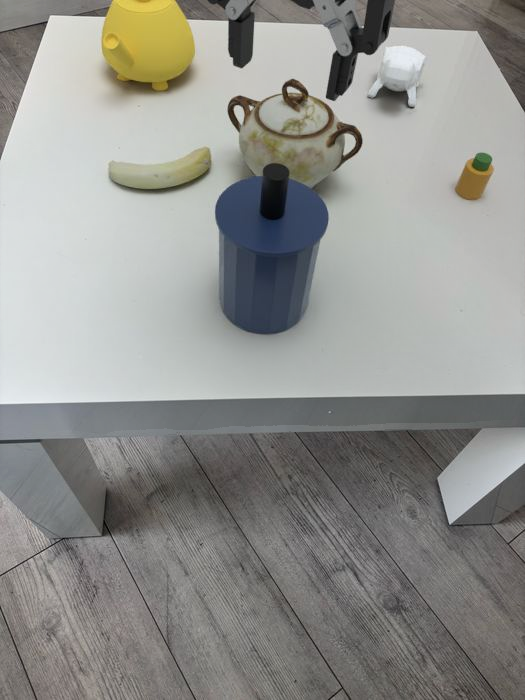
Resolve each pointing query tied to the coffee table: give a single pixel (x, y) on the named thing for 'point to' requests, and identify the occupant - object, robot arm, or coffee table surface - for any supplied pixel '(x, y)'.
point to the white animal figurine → (400, 71)
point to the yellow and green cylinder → (475, 176)
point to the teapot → (147, 41)
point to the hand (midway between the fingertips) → (287, 79)
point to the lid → (271, 214)
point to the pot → (264, 287)
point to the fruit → (161, 171)
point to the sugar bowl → (293, 134)
